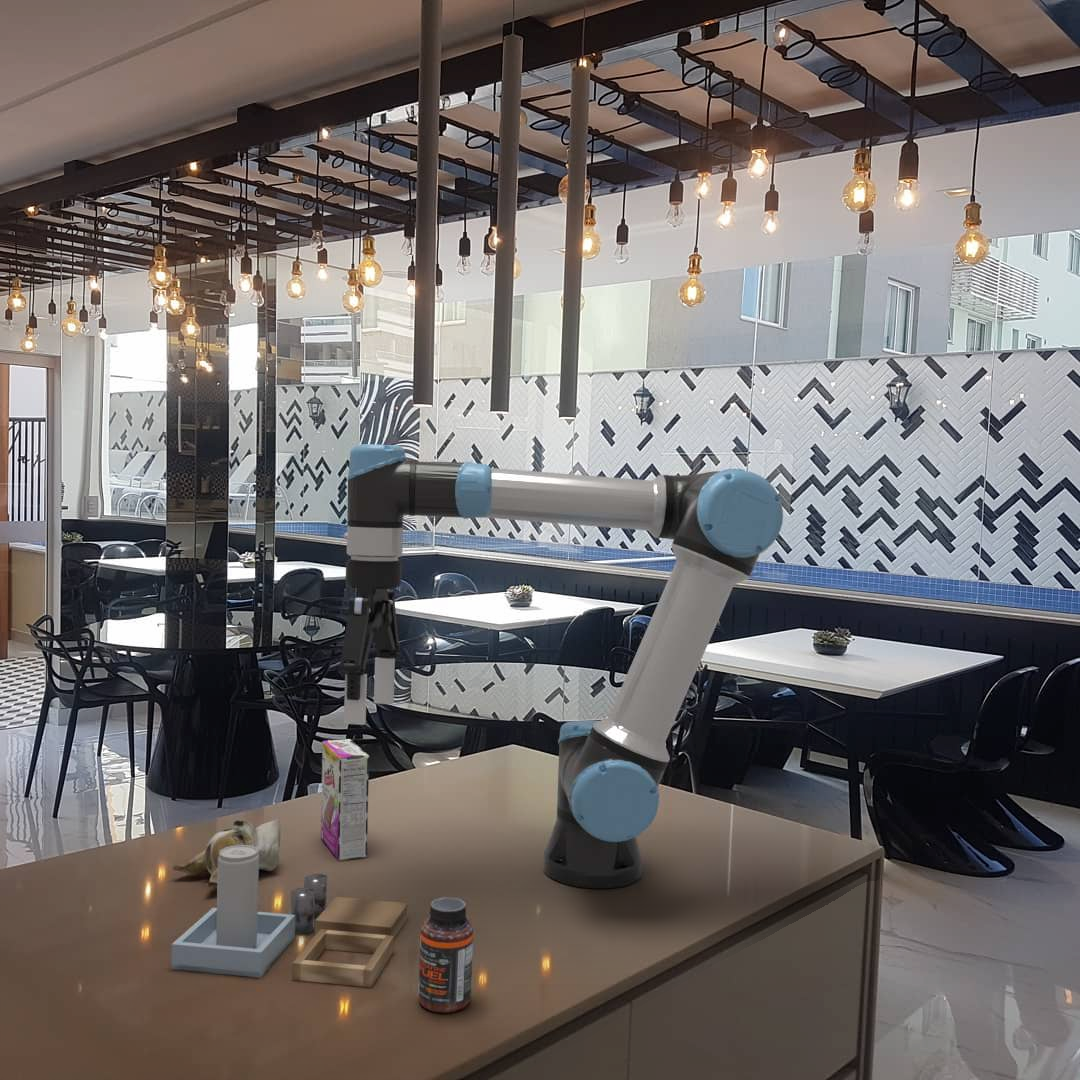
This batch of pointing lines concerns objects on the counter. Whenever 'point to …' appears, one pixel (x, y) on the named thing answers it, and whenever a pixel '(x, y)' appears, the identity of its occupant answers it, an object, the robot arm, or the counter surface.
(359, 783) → the candy bar box
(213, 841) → the ceramic sculpture
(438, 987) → the supplement bottle
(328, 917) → the board
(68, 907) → the counter surface
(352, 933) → the collar
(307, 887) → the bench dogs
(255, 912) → the beverage can
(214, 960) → the tray
